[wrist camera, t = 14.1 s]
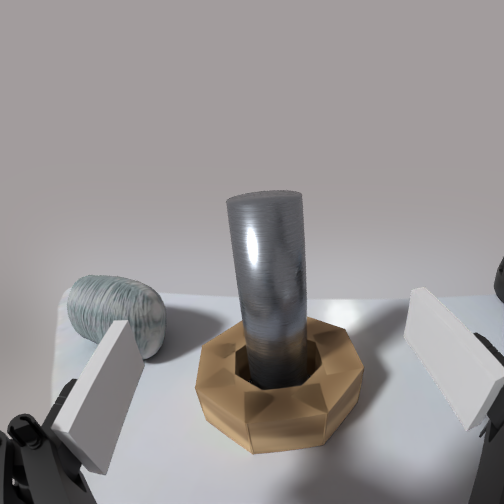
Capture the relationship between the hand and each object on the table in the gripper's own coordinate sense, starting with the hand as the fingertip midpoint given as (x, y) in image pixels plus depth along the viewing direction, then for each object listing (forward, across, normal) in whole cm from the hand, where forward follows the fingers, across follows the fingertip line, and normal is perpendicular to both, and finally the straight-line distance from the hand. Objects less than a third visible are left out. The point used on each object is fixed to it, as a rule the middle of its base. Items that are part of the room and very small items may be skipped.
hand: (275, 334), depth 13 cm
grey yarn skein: (+16, -17, -12) cm, 26 cm away
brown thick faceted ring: (+7, 0, -11) cm, 13 cm away
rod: (+7, 0, -11) cm, 13 cm away
